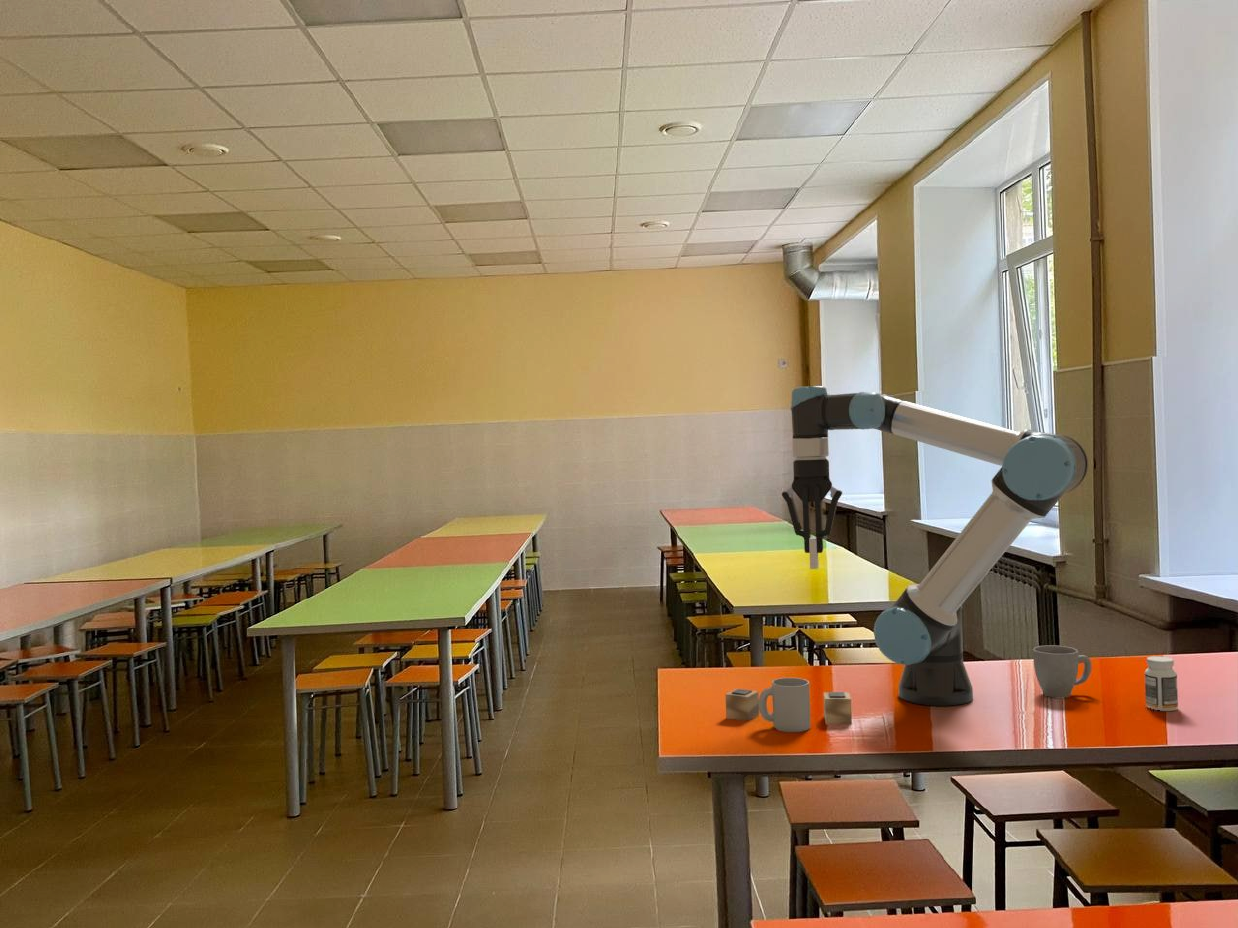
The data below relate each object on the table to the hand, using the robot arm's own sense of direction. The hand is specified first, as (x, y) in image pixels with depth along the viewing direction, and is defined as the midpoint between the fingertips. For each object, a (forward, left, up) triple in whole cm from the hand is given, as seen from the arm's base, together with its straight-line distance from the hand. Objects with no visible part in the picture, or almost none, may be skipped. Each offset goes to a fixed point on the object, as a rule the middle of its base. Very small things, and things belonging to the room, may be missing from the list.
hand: (814, 568), depth 212 cm
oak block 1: (+14, +16, -29) cm, 35 cm away
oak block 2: (-5, +15, -29) cm, 33 cm away
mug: (-50, -13, -29) cm, 59 cm away
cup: (+4, +22, -29) cm, 36 cm away
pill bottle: (-67, -5, -29) cm, 73 cm away
